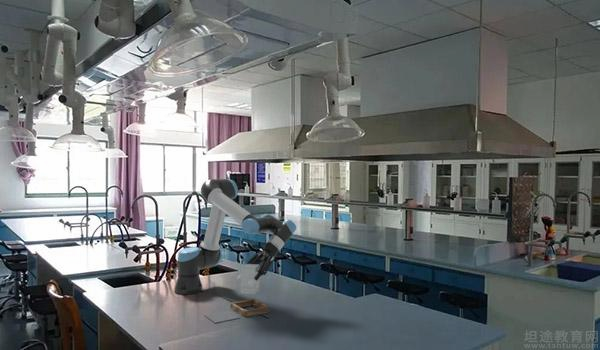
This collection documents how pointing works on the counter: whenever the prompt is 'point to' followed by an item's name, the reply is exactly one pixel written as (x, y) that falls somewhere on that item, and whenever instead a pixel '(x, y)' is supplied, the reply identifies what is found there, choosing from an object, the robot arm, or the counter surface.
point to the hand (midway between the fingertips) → (244, 282)
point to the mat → (221, 316)
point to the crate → (246, 313)
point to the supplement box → (246, 275)
